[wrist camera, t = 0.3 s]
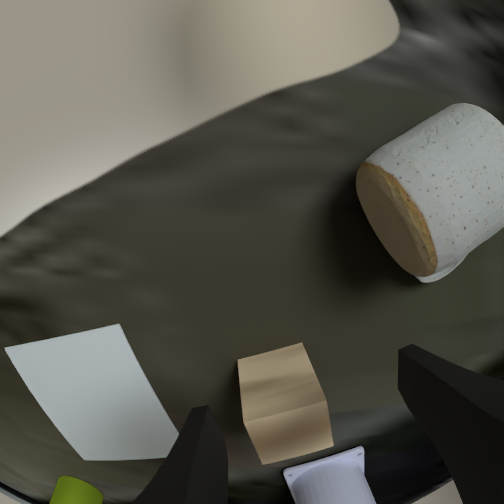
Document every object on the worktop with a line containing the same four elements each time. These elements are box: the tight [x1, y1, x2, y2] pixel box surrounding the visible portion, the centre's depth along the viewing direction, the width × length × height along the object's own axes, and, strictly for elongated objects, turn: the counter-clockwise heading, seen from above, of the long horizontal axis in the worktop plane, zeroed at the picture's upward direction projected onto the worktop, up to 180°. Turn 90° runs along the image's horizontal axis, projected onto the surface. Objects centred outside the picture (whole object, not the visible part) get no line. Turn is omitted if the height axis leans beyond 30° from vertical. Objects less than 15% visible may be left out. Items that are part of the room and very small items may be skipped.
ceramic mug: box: [356, 103, 504, 283], centre depth 15 cm, size 11×8×8 cm
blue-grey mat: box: [5, 324, 179, 460], centre depth 21 cm, size 14×12×1 cm
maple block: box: [238, 343, 333, 465], centre depth 19 cm, size 4×4×6 cm
